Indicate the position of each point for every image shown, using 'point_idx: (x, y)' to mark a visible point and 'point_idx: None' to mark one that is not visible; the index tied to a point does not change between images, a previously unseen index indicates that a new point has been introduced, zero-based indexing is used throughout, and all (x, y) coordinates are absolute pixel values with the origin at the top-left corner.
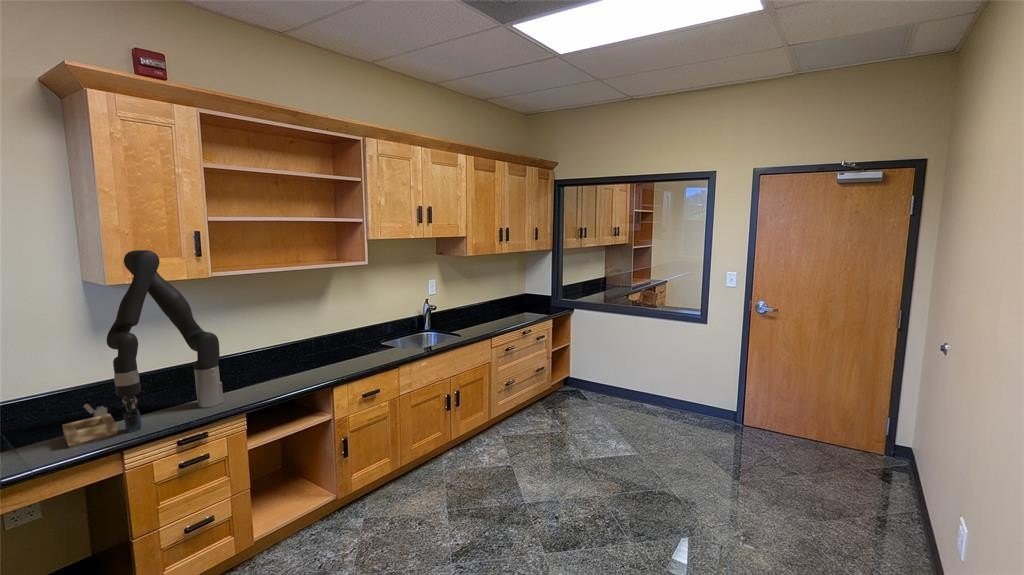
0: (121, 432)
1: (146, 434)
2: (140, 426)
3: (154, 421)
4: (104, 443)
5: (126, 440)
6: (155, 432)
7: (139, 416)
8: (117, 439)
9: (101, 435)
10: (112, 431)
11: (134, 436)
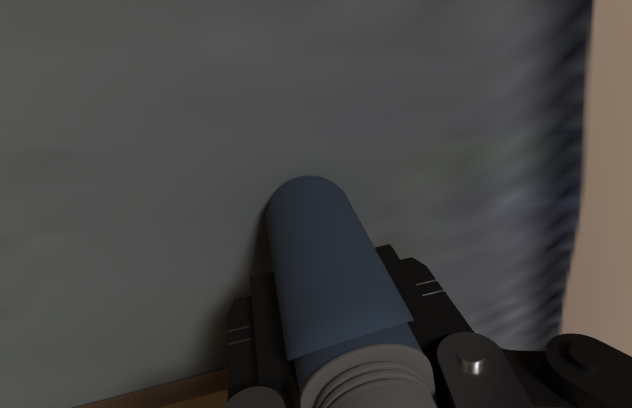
0: None
1: (546, 117)
2: (343, 192)
3: (97, 17)
4: None
5: (539, 262)
6: (573, 26)
7: (384, 274)
8: None
9: None
10: None
11: (499, 215)
